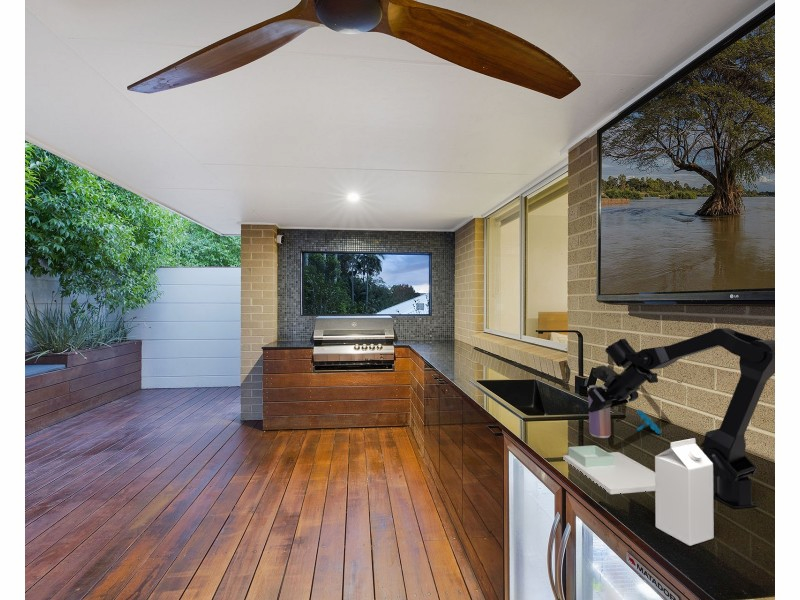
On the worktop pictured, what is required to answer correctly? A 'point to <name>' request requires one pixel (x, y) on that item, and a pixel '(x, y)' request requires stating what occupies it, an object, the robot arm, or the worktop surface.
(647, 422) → the blue irregular branched piece
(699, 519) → the milk carton
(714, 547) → the worktop surface
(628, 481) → the housing plate
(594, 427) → the beverage can
